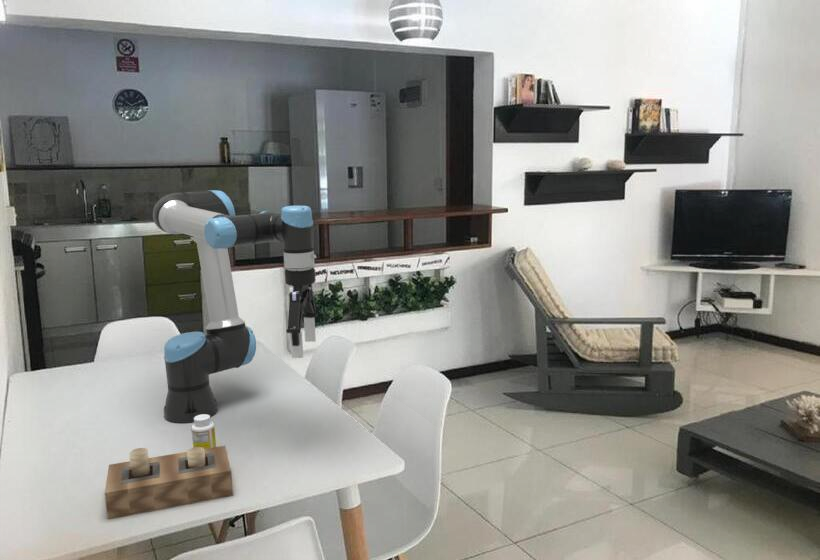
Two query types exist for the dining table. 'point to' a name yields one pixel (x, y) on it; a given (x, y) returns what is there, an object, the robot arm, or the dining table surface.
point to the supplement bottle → (203, 432)
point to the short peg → (196, 457)
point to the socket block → (167, 483)
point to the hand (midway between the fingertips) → (304, 349)
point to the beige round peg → (139, 463)
